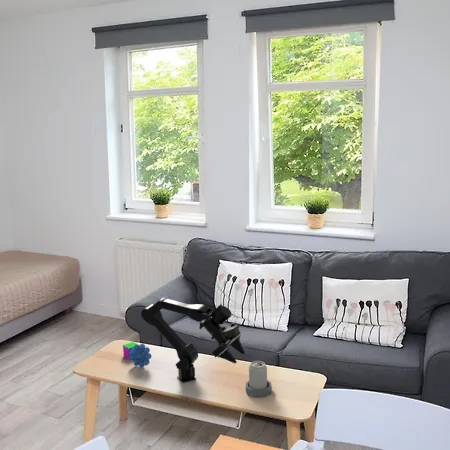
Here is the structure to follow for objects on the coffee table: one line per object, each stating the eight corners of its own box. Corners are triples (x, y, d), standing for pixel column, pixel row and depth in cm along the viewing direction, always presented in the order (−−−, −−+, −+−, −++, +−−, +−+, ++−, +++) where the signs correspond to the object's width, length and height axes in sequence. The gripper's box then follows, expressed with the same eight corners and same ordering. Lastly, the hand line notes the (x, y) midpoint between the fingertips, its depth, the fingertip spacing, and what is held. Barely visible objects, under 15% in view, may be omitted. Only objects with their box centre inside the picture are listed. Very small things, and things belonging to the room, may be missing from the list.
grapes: (157, 365, 265) (155, 341, 262) (149, 371, 259) (147, 347, 256) (136, 361, 270) (134, 337, 267) (128, 367, 264) (126, 343, 261)
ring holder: (255, 400, 231) (254, 393, 231) (241, 389, 240) (240, 382, 240) (276, 392, 237) (276, 386, 236) (262, 382, 246) (262, 376, 245)
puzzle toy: (139, 356, 276) (139, 345, 275) (129, 359, 272) (128, 348, 271) (133, 352, 280) (132, 341, 279) (123, 356, 277) (122, 345, 276)
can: (270, 390, 237) (270, 364, 235) (256, 396, 233) (255, 369, 231) (260, 383, 244) (259, 358, 241) (245, 388, 240) (245, 362, 237)
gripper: (218, 327, 229) (244, 357, 227) (236, 311, 246) (260, 339, 244) (201, 342, 234) (226, 371, 232) (219, 326, 251) (243, 352, 249)
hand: (240, 358), depth 239 cm, fingers open, 9 cm apart
